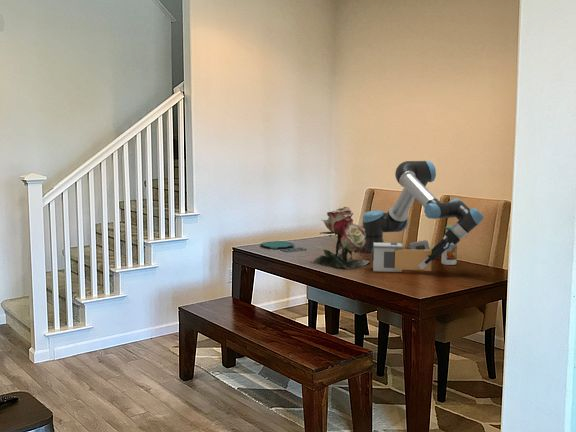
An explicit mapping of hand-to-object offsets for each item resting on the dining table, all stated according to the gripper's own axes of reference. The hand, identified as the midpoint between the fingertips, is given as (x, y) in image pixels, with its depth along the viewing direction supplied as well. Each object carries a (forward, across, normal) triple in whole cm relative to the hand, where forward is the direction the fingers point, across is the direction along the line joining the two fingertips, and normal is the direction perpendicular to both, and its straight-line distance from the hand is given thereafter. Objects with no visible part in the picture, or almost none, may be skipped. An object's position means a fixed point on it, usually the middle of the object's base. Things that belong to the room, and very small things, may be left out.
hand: (419, 266), depth 297 cm
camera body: (+13, +6, +9) cm, 17 cm away
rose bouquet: (+29, +19, +24) cm, 42 cm away
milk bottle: (-10, +24, -15) cm, 30 cm away
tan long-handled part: (+4, 0, +1) cm, 4 cm away
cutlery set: (+57, +61, +51) cm, 98 cm away
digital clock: (0, +30, -5) cm, 31 cm away
